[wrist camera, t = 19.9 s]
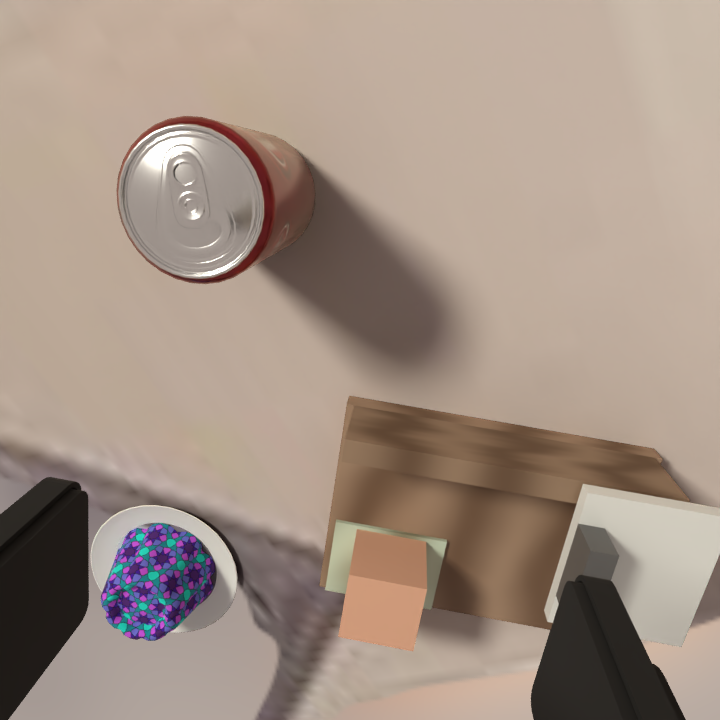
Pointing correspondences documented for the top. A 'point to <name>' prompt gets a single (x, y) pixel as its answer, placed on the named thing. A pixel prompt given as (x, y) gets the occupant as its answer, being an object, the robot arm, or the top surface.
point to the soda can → (212, 197)
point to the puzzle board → (473, 501)
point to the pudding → (161, 572)
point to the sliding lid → (642, 557)
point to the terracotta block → (385, 590)
